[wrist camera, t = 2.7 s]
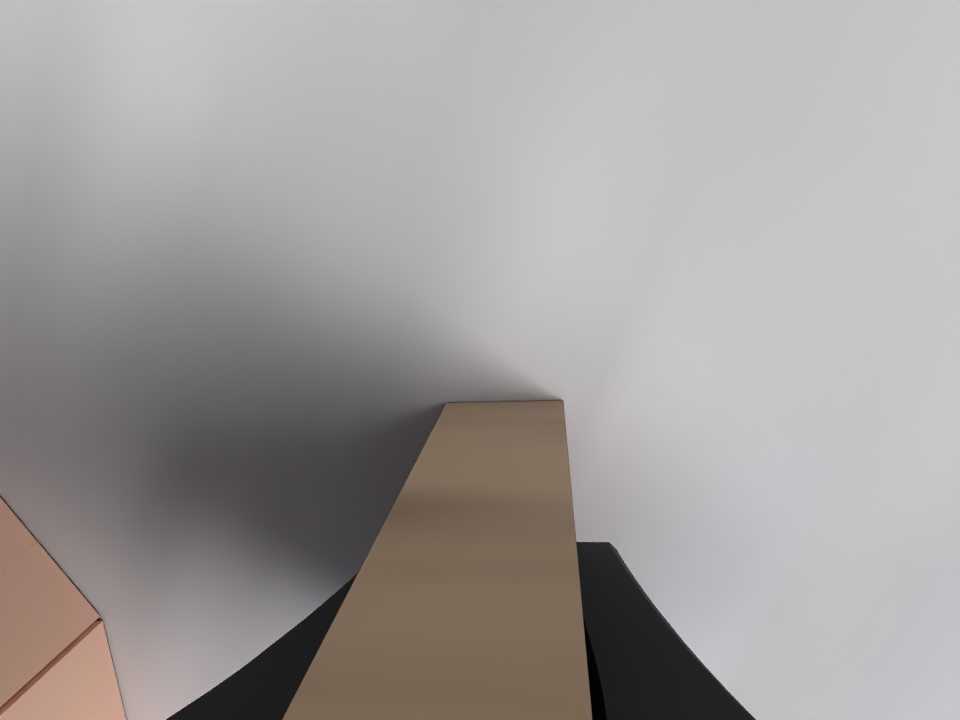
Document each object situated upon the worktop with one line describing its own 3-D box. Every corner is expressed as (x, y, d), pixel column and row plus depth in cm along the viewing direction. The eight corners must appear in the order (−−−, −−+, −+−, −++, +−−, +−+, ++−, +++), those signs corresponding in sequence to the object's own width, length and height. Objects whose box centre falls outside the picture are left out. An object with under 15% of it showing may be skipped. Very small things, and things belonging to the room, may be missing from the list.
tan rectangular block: (569, 652, 11) (605, 1322, 4) (464, 650, 11) (348, 1282, 5) (562, 400, 10) (599, 790, 3) (446, 402, 10) (254, 773, 4)
